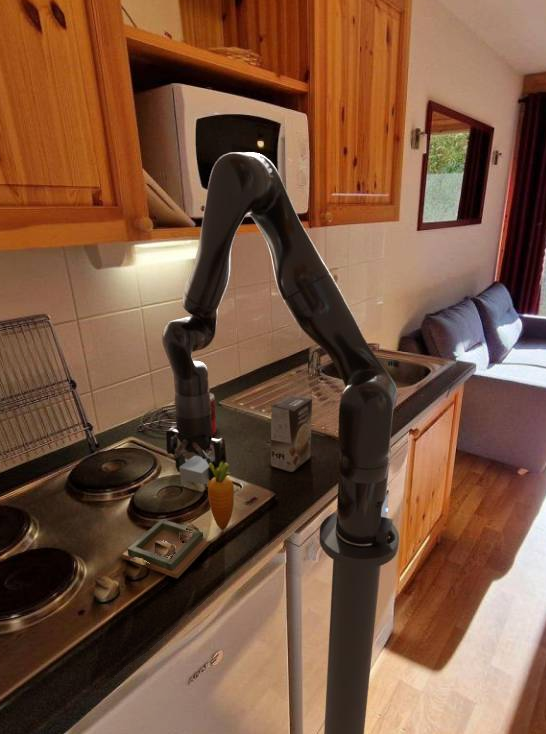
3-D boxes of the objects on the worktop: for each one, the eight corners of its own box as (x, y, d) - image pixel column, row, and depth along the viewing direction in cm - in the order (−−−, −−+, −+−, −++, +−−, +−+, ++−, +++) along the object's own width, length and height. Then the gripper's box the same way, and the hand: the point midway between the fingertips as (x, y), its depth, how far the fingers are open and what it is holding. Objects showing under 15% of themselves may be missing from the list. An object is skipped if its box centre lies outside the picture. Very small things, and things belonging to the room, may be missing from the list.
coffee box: (292, 473, 114) (293, 411, 108) (270, 466, 117) (269, 405, 111) (311, 457, 121) (312, 398, 115) (289, 451, 124) (289, 393, 118)
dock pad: (209, 544, 90) (209, 533, 89) (177, 578, 81) (176, 567, 80) (158, 527, 94) (157, 516, 93) (122, 558, 86) (121, 547, 85)
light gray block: (217, 479, 111) (216, 460, 109) (202, 492, 106) (201, 473, 104) (196, 474, 113) (194, 455, 111) (180, 486, 108) (178, 467, 106)
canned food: (184, 438, 130) (181, 401, 126) (193, 426, 138) (191, 390, 133) (211, 440, 129) (209, 403, 125) (219, 428, 137) (217, 392, 132)
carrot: (205, 529, 94) (200, 462, 88) (225, 518, 97) (221, 453, 91) (220, 541, 91) (216, 472, 85) (240, 529, 94) (238, 462, 88)
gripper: (155, 410, 102) (161, 475, 108) (211, 422, 97) (215, 491, 103) (176, 398, 108) (181, 461, 115) (230, 409, 103) (232, 474, 109)
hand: (197, 475), depth 109 cm, fingers open, 8 cm apart
